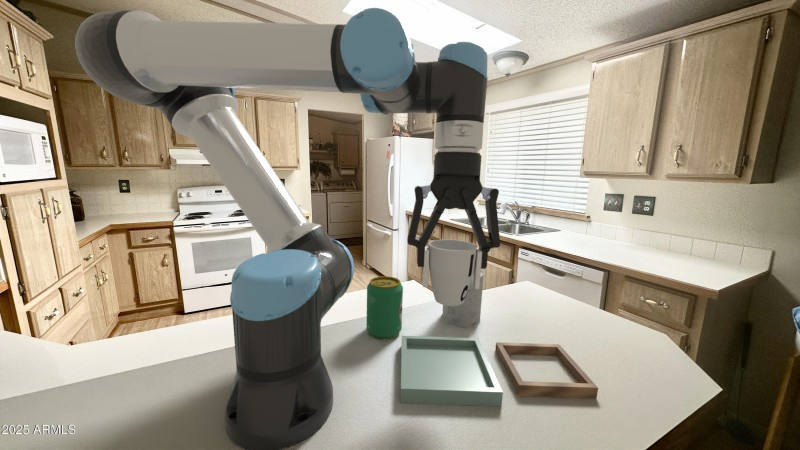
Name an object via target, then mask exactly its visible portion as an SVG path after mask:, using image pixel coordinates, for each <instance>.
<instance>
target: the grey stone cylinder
mask: <svg viewBox="0 0 800 450" xmlns="http://www.w3.org/2000/svg"><path fill="white" fill-rule="evenodd" d="M484 276H485V272H484V271H483V270H481V274H480V288H479V289H475V288H474V286H473V285H472V280H471V284H470V288H469V291H468V293H467V296H466V298H465V301H464V303H463V304H461V305H458V306H446V305H442V314H441V318H442V320H443V321H444V322H445V323H447V324H449V325H450V326H454V327H458V328H473V327H476V326H478V325H479V324H480V323H481V313H482V300H483V299H482V298H483V288H484V287H483V285H484Z"/></svg>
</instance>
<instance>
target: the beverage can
mask: <svg viewBox="0 0 800 450" xmlns="http://www.w3.org/2000/svg"><path fill="white" fill-rule="evenodd" d="M403 295H404V286H403V285H402V282H401V280H400V279H399V278H397V277H393V276H387V275H386V276H381V275H380V276H376V277H373V278H370V280H369V283H368V284H367V286H366V331H367V333H368V335H369V336H370V337H371V338H373V339H376V340H380V341H387V340H392V339H395V338H397V337H398V336H399V335H400V332H401V331H402V328H403V325H402V324H403V297H404V296H403Z"/></svg>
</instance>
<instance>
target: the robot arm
mask: <svg viewBox="0 0 800 450" xmlns="http://www.w3.org/2000/svg"><path fill="white" fill-rule="evenodd" d="M411 39H412V38H410V35H409V33H408V32H407V31H406V29H405V26H404V24H403V23H402V21H401V20H400V19H399V18H398V17H397V16H396V15H395V14H394V13H392V12H390V11H389V10H387V9H383V8H379V7H371V8H364V9H363V10H362V11H360V12H358V13H357V14H354V15H353V16H351V17H350V19H349V20H348V21H347V22H346V24H340V23H339V24H337V23H335V24H334V23H333V24H331V23H287V22H285V23H284V22H247V21H246V22H239V21H237V22H236V21H201V20H200V21H199V20H198V21H196V20H194V21H191V20H161V19H160V18H159V17H158V16H156V15H154V14H152V13H149V12H147V11H143V10H126V9H124V10H123V9H117V10H116V9H114V10H106V11H105V10H104V11H101V12H97V13H95V14H92V15H90V16H89V17H87V18H85V20H83V21H82V22H81V24H80V25H79V27H78V29H77V31H76V34H75V39H74V41H75V42H74V48H75V51H76V56H77V58H78V61H79V64H80V65H81V67H82V68H83V71H84V72H85V73H86V75H88V77H90V79H91V80H92V81H93V82H94V83H95V84H97V85H98V86H99V87H100V88H101V89H103V90H104V91H106V92H107V93H108V94H110V95H112V96H114V97H116V98H119V99H121V100H124V101H126V102H129V103H133V104H138V105H142V106H146V107H150V108H155V109H158V110H159V111H160V112H161V113H162V114H163V116H164V117H165V118H166V120H167V122H168V123H169V124H170V126H171V127H172V128H173V130H174V131H175V132H176V133H177V134H178V135H182V136H186V137H189V138H191V139H192V141H193V142H194V144H195V145H196V147H197V148H198V150H199V151H200V153H201V154H202V155H203V157H204V158H205V160H206V162H208V164H209V166H210V167H211V168H212V170H213V171H214V173H215V174H216V175H217V177H218V178H219V180H220V182H222V184H223V186H224V187H225V188H226V190H227V191H228V193H229V194H230V195H231V197H232V198H233V200H234V202H235V203H236V205H237V206H238V207H239V209H241V211H242V213H243V214H244V215H245V217H246V218H247V220H248V222H249V223H250V224H251V226H252V227H253V229H254V230H255V232H256V233H257V234H258V236H259V237H260V239H261V240H262V241H263V243H264V244H265V245H266V249H267V250H266V252H265V253H259V254H257V255H254V256H252V257H250V258H247V259H246V260H244V261H243V262H241V263H240V264H239V265H238V266H237V268H236V269H235V271H234V272H233V273H232V277H231V292H230V296H229V303H230V306H231V309H232V310H231V311H232V321H233V324H232V325H233V339H234V351H235V365H236V367H235V368H236V372H235V375H234V378H233V381H232V384H231V389H230V392H229V395H228V398H227V401H226V405H225V410H224V412H225V413H224V415H225V417H224V418H225V430H226V433H227V435H228V437H229V439H230V440H231V441H232V442H233V443H234V444H236V445H237V446H239V447H241V448H244V449H246V450H282V449H284V448H288V447H291V446H293V445H296V444H298V443H300V442H301V441H304V440H305V439H307V438H308V437H309V438H310V436H312V435H313V434H315V432H317V431H318V430H319V429H321V427H322V426H323V425H324V424H325V423H326V421H327V420H328V418H329V416H330V415H331V412H332V410H333V406H334V385H333V382H332V379H331V377H330V375H329V372H328V370H327V367H326V364H325V362H324V360H323V357H322V338H321V337H322V330H321V327H322V325H321V324H322V320H323V318H324V317H325V316H326V315H327V313H328V312H329V311H330V310H331V309H332V307H333V306H334V305H335V304H336V303H337V301H338V300H339V299H341V298H342V297H343V296H344V295H345V293H347V291H348V289H349V287H350V285H351V283H352V281H353V277H354V274H355V263H354V258H353V255H352V253H351V251H350V250H349V248H348V247H347V246H346V245H344V244H343V242H340V241H339V240H336V239H333V238H331V237H330V236H329V235H328V233H327V232H326V230H325V229H324V227H323V225H321V224H319V223H313V222H311V221H309V220H308V219H307V217H306V216H305V214H304V212H303V211H302V210H301V208H300V207H299V205H298V203H297V201H295V199H294V198H293V196H292V195H291V193H290V192H289V190H288V188H287V187H286V186H285V184H284V183H283V182H282V180H281V179H280V178H279V176H278V175H277V173H276V172H275V170H274V168H273V166H272V165H271V164H270V163H269V161H268V159H267V158H266V157H265V155H264V154H263V153H262V151H261V149H260V148H259V147H258V145H257V144H256V142H255V141H254V139H253V138H252V135H250V133H249V132H248V130H247V129H246V127H245V126H244V125H243V123H242V121H241V120H240V119H239V117H238V116H237V115H238V112H239V108H240V107H239V106H240V105H239V102H238V101H237V97H236V96H235V93H236V89H257V90H279V91H298V92H299V91H301V92H302V91H303V92H325V93H326V92H327V93H341V94H342V93H343V94H358V95H359V94H360V96H359V97H360V100H361V103H362V106H363V108H364V109H365V111H366V112H368V113H371V114H372V113H375V114H382V115H389V114H435V115H436V119H435V133H434V134H435V137H434V140H435V141H434V148H435V149H436V150H438V151H437V152H435V154H434V160H433V161H434V162H433V179H432V180H431V183H430V184H428V185H421V186H420V185H416V186H415V187H414V195H415V196H414V197H415V200H414V201H415V202H414V206H413V210H412V215H411V219H410V225H409V229H408V234H407V238H406V239H407V242H406V243H407V244H408V245H409V246H414V247H415V248H416V251H417V252H416V264H417V267H419V268H422V280H421V282H422V287H423V288H428V286H429V271H430V270H429V245H428V243H429V240H430V238H431V236H432V234H433V232H434V230H435V228H436V226H437V224H438V222H439V220H440V218H441V216H442V215H443V213H444V211H445V210H453V209H458V210H464V211H465V213H466V217H467V218H468V221H469V224H470V226H471V229H472V232H473V234H474V237H475V239H476V242H477V246H478V247H477V251H476V258H475V266H474V272H473V276H472V285H473V286H474V288H475V289H479V288H480V274H481V271H482V269H483V270H485V269H486V268H487V266H488V255H489V252H490V251H491V249H497V248H499V247H500V246H501V239H500V238H501V237H500V228H499V227H500V226H499V219H498V218H499V217H498V208H497V202H498V198H499V195H500V190H499V189H498V188H494V187H485V186H483V184H482V183H481V171H482V170H481V169H482V168H481V167H482V155H481V153H479V151H480V150H482V149H483V140H484V139H483V136H484V124H485V112H486V111H485V110H486V100H487V90H488V89H487V88H488V87H487V86H488V79H489V77H488V59H489V58H488V52H487V49H486V48H485V47H484V46H483V45H481V44H478V43H476V42H471V41H458V42H456V43H449V44H447V45H445V46H443V47H442V48H441V49H440V51H439V54H438V58H437V60H433V61H428V62H427V61H426V62H425V61H421V62H420V61H416V56H415V55H416V54H415V51H414V44H413V43H412V40H411ZM430 192H431V193H432V195H433V196H434V198H435V200H437V202H436V203H435V205H434V208H433V210H432V212H431V214H430V215H429V217H428V220H427V222H426V224H425V226H424V228H423V230H422V232H421V234H420V236H419V238H417V233H418V228H419V224H420V221H421V216H422V215H421V214H422V211H423V206H424V199H427V198H428V195H429V193H430ZM480 194H482V199H483V200H484V201H485V203H484V204H485V214H486V224H487V234H488V239H487V238H486V235H485V233H484V229H483V226H482V224H481V221H480V219H479V216H478V213H477V209H476V206H475V204H474V201H475V200H476V199H477V198H478V197H479V195H480ZM427 245H428V246H427Z"/></svg>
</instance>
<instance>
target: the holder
mask: <svg viewBox="0 0 800 450" xmlns="http://www.w3.org/2000/svg"><path fill="white" fill-rule="evenodd" d="M495 355H496V356H497V357H498V359H499V361H500V363H501V365H502V367H503V370H504V371H505V374H506V375H507V377H508V380H509V381H510V383H511V386H512V387H513V389H514V391H515V393H516V395H517V396H518V397H522V396H523V397H542V398H543V397H544V398H565V399H566V398H567V399H568V398H571V399H595V400H596V399H597V397H598V393H599V392H598V391H599V387H598V386H597V385H596V384H595V383H594V381H593V380H592V379H591V378H590V377H589V376H588V375H587V373H586V372H585V371H584V370H583V369H582V368H581V367H580V366H579V365H578V363H577V362H575V360H574V359H573V358H572V357H571V356H570V355H569V354H568V352H567V351H566V350H565V349H564V348H563V347H562V346H561V344H558V343H557V344H556V343H555V344H554V343H529V342H527V343H526V342H499V341H498V342H495ZM509 355H514V356H516V355H517V356H522V355H523V356H545V357H548V356H549V357H556V359H558V361H559V362H560V363H561V365H562V366H563V367H564V368H565V369H566V371H568V373H569V375H571V376H572V377H573V379H574V380H575V381H576V382H558V381H557V382H555V381H527V380H526V381H525V380H523V379H522V377H521V376H520V372H518V370H517V368H516V366H515V364H514V363H513V361H512V360H511V358H510V356H509Z"/></svg>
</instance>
